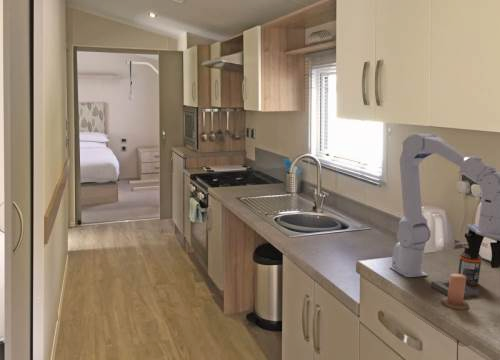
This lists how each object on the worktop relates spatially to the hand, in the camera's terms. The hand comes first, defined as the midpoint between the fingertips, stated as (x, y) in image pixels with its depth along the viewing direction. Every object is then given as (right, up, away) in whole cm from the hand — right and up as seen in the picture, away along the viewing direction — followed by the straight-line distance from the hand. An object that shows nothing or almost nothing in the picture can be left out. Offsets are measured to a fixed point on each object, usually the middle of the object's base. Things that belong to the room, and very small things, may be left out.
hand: (484, 262), depth 140 cm
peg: (-10, -10, -4) cm, 14 cm away
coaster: (-10, -11, -4) cm, 15 cm away
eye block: (-6, -9, +6) cm, 13 cm away
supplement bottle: (+1, -9, +14) cm, 16 cm away
